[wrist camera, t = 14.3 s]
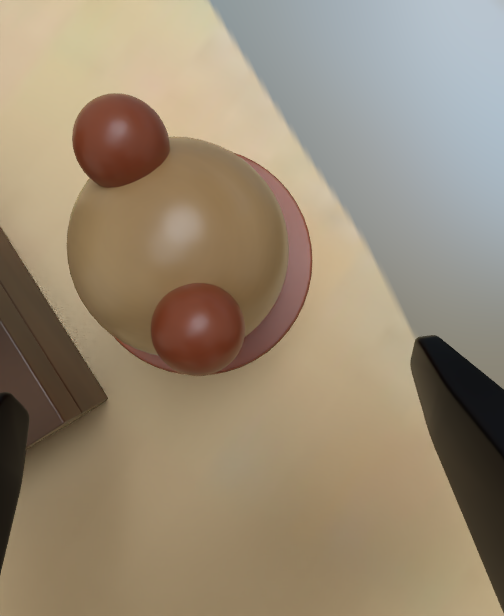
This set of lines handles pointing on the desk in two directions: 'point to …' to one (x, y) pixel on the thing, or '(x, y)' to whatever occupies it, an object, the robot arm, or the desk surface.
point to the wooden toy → (182, 243)
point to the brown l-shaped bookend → (39, 354)
